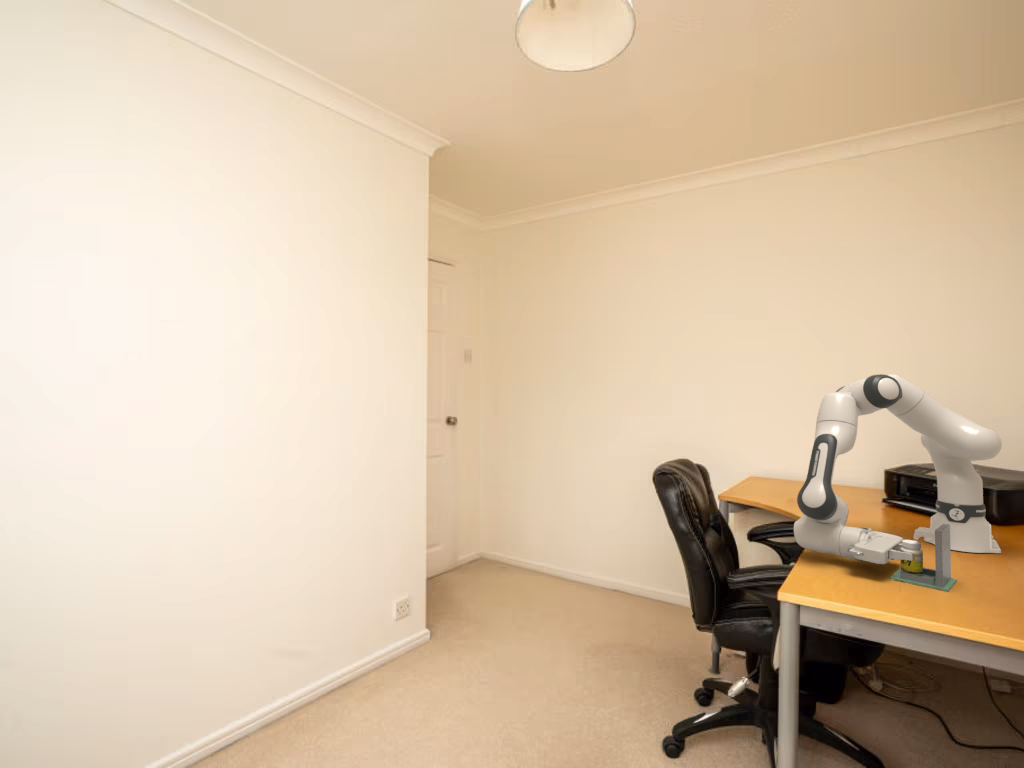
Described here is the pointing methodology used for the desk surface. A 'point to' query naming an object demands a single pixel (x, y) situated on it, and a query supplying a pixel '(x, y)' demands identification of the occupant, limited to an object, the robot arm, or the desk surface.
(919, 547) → the supplement bottle
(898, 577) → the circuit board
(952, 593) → the desk surface
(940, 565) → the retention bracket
